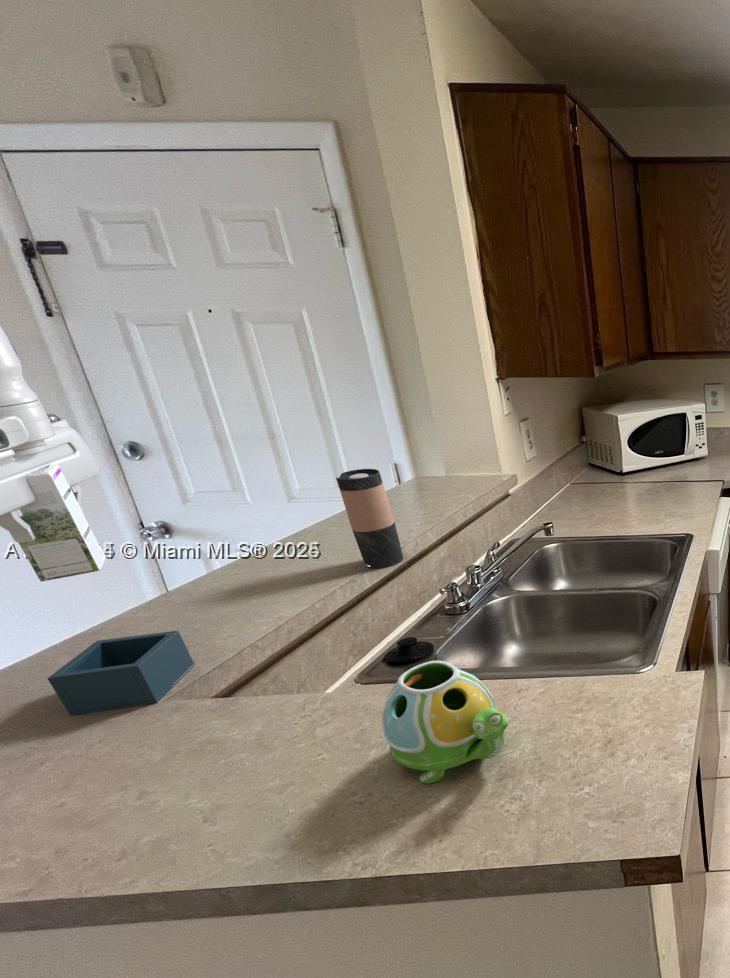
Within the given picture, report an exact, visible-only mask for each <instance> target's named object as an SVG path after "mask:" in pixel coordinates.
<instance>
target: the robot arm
mask: <svg viewBox="0 0 730 978" xmlns="http://www.w3.org/2000/svg"><path fill="white" fill-rule="evenodd" d="M21 363H22V362H21V361H20V358H19V355H18V353H17V350H16V348H15V347H14V345H13V343H12V342H11V341H10V340H9V338H8V336H7V334H6V333H5V331H4V329H3V328H2V327H1V325H0V527H1V528H3V529H4V530H6V531H8V532H9V534H10V535H11V538H12V539H13V541H14V542H16V543H17V544H19V543H24V542H31V541H34V540H35V539H37V538H39V537H40V536H41V534H40V533H39V532H38V529H37V527H36V525H30V526H29V525H28V524H27V523H25V522H24V521H23V520H22V519H21V518H19V517H21V516H22V513H21V511H20V509H19V508H20V507H23V506H25V505H28V504H30V503H32V502H35V501H36V500H37V498H36V495H35V493H34V491H33V489H32V488H31V486H30V484H29V483H28V481H27V479H26V477H27V475H29V474H30V473H32V472H34V471H36V470H38V469H40V468H42V467H45V466H48V465H52V464H56V465H58V466H59V467H60V469H61V471H62V473H63V475H64V477H65V479H66V481H67V483H68V485H69V486H70V488H71V490H72V492H73V494H74V496H75V498H76V500H77V502H78V504H79V506H80V508H81V510H82V513H83V514H84V516H85V515H86V513H85V510H84V508H83V507H82V488H81V487H80V485H79V484H81V483H82V482H85V481H87V480H89V479H91V478H95V477H97V476H98V475H99V474H100V473H99V470H100V467H99V463H98V462H97V459H96V458H95V456H94V455H93V453H92V450H90V449H91V448H89V445H87V443H86V441H85V440H84V439H83V437H82V435H80V433H79V432H78V431H76V429H74V428H72V427H71V426H70V424H69V423H68V421H67V420H66V419H63V418H62V417H60V416H57V415H56V414H54V413H47V412H46V411H45V408H44V406H43V405H42V402H41V400H40V399H39V397H38V395H37V393H35V391H33V389H32V388H30V386H29V385H28V384H27V382H26V380H25V378H24V375H23V368H22V364H21Z"/></svg>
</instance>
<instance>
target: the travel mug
mask: <svg viewBox="0 0 730 978" xmlns="http://www.w3.org/2000/svg"><path fill="white" fill-rule="evenodd" d="M335 480H336V482H337V486H338V488H339V492H340V495H341V498H342V501H343V505H344V508H345V511H346V514H347V518H348V521H349V524H350V527H351V530H352V534H353V536H354V538H355V542H356V544H357V547H358V549H359V553H360V555H361V559H362V560H363V563H364V565H365V564H367V565H370V566H371V567H372V568H371V567H367V566H366V565H365V567H366V568H368V569H375V570H376V569H384V568H388V567H389V568H390V567H392V566H395V565H398V564H400V563H401V562H402V561H403V560H404V554H403V550H402V546H401V541H400V538H399V534H398V531H397V526H396V523H395V519H394V515H393V511H392V508H391V505H390V502H389V499H388V496H387V492H386V488H385V486H384V482H383V478H382V476H381V472H380V470H378V469H376V468H360V469H352V470H348V471H344V472H342V473H340V476H339V477H335Z"/></svg>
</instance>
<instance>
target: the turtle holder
mask: <svg viewBox="0 0 730 978" xmlns="http://www.w3.org/2000/svg"><path fill="white" fill-rule="evenodd" d="M413 676H414V677H413ZM412 677H413V678H412ZM411 678H412V679H411ZM494 700H495V697H494V696H493V694H492V693H491V692H490V690H489V689H488V688H487V686H486V684H484V683H483V682H482V681H481V680H480V679H479V678H477V677H476V676H475V675H474V674H472V673H470V672H467V671H465V670H462V669H460V668H458V667H457V666H455V665H453V664H452V663H450V662H447V661H443V660H431V661H426V662H423V663H420V664H417V665H415V666H413V667H411V668H409V669H408V670H406V671H405V672H404V673H402V674H401V675H400V676H399V677H398V678H397V682H395V684H394V685H393V686H392V688H391V689H390V691H389V692H388V694H387V697H386V699H385V702H384V706H383V711H382V719H381V720H382V721H381V723H382V731H383V736H384V739H385V741H386V742H387V744H388V745H389V752H390V754H391V756H392V758H393V759H394V761H396V762H397V763H398V764H401V765H402V766H404V767H405V768H409V769H412V770H416V771H424V772H422V774H420V775H419V781H420V782H421V783H422V784H434V783H437V782H439V781H440V780H442V778H443V777H444V776H445V773H446V770H447V769H452V768H455V767H458V766H461V765H463V764H465V763H468V762H470V761H474V760H487V759H492V758H495V757H496V756H497V755H499V754H500V753H501V752H502V750H503V749H504V745H505V730H506V729H507V727H508V726H509V719H508V718H507V716H506V715H504V713H502V712H501V711H499V710H498V709H497V708H496V706H495V703H494Z"/></svg>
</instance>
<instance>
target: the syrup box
mask: <svg viewBox="0 0 730 978" xmlns="http://www.w3.org/2000/svg"><path fill="white" fill-rule="evenodd" d="M26 479H27V481H28V483H29V484H30V486H31V488H32V489H33V491H34V493H35V495H36V498H37V500H36V501H35V502H32V503H30V504H28V505H25V506H23V507H20V508H19V509H20V511H21V513H22V516H21V517H19V518H21V519H22V520H23V521H24V522H25V523H27V524H28V525H29V526H30V525H36V527H37V529H38V532H39V533H40V534H41V536H40V537H39V538H37V539H35V540H34V541H31V542H24V543H18V545H19V547H20V548H21V550H22V552H23V554H24V555H25V557H26V559H27V561H28V563H29V564H30V566H31V567H32V570H33V571H34V573H35V575H36V576H37V578H38V580H39V581H40V582H47V581H52V580H58V579H63V578H69V577H75V576H80V575H85V574H90V573H95V572H99V571H101V570H102V568H103V565H104V563H105V562H106V558H107V557H106V554H105V553H104V550H103V548H102V547H101V545H100V544H99V542H98V540H97V538H96V536H95V534H94V532H93V531H92V528H91V527H90V525H89V522H88V520H87V519H86V516H85V515H84V514H83V513H82V510H81V508H80V506H79V504H78V502H77V500H76V498H75V496H74V494H73V492H72V490H71V488H70V486H69V485H68V483H67V481H66V479H65V477H64V475H63V473H62V471H61V469H60V467H59V466H58V465H56V464H52V465H48V466H45V467H42V468H40V469H38V470H36V471H34V472H32V473H30V474H29V475H27V477H26Z"/></svg>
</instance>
